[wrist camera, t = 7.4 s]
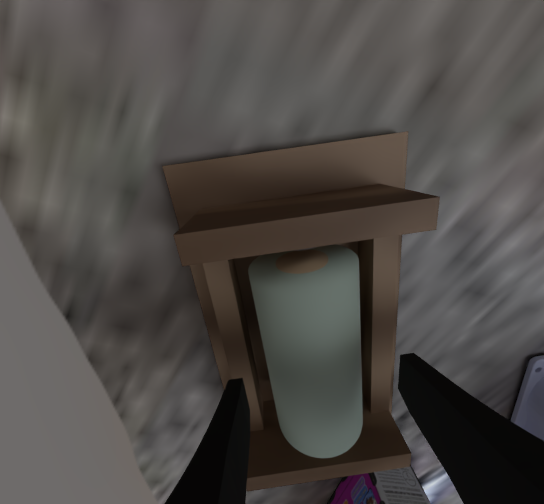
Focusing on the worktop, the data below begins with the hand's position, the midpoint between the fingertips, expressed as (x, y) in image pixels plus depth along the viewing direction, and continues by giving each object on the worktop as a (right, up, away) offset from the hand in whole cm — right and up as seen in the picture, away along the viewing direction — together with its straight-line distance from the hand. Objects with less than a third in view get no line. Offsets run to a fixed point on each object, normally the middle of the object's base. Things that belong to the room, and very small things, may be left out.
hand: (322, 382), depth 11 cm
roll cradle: (0, +2, +5) cm, 6 cm away
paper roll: (0, +1, +2) cm, 2 cm away
